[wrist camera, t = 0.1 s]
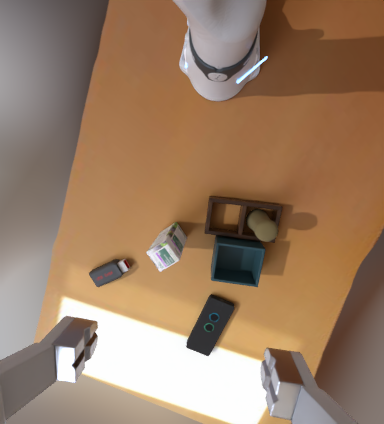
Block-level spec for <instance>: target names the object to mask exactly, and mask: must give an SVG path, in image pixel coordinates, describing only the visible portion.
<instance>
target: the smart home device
mask: <svg viewBox="0 0 384 424" xmlns="http://www.w3.org/2000/svg"><path fill="white" fill-rule="evenodd" d="M233 310H234V304H233V303H231V302H229V301H226V300H224V299H221V298H219V297H216V296H214V295H210V296H209V298H208V300H207V302H206V304H205V306H204V308H203V310H202V312H201V314H200V316H199V318H198V320H197V322H196V324H195V326H194V328H193V330H192V332H191V334H190V336H189V338H188V340H187V346H186V347H187V348H189V349H191V350H194V351H196V352H199V353H201V354H204V355H206V356H209V355H210V353H211V351H212V350H213V348H214V346H215V344H216V342H217V340H218V338H219V336H220V335H221V333H222V331H223V329H224V327H225V325H226V323H227V322H228V320H229V318H230V316H231V314H232V312H233Z"/></svg>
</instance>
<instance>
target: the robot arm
mask: <svg viewBox="0 0 384 424" xmlns="http://www.w3.org/2000/svg"><path fill="white" fill-rule="evenodd" d="M173 1H174V2H175V4H176V5H177V6H178V7H179V8H180V9H181V10H182V12H183V13H184V14H185V15H186V17H187V25H188V26H189V28H188V32H187V33H186V35H185V43H184V47H183V51H182V55H181V59H180V63H179V64H180V69H181V70H182V71H183V72H184V73H185V74H186V75H187V76H188V77H189V79H190V81H191V83H192V85H193V87H194V88H195V90H196V91H197V92H198V93H199V94H200V95H201V96H203V97H204V98H206V99H209V100H212V101H223V100H227V99H229V98H231V97H233V96H235V95H236V94H237V93H238V92H239V91H240V90H241V89H242V88H243V87H244V85H245V84H246V83H247V82H248V81H250V80H252V79H254V78H255V77H256V76H258V74H259V71H260V64H261V63H262V62H263V61H265V60H266V59H267V56H266V57H265V58H264V59H263V60H261V61H260V30H259V26H260V23H261V20H262V17H263V15H264V11H265V7H266V0H173ZM184 59H185V60H184ZM255 64H256V66H255ZM97 328H98V326H97V322H96V321H92V320H87V319H82V318H75V317H69V316H66V317H64V318H63V319H62V320H61V321H60V322H59V323H58V324H57V325H56V326H55V327H54V328H53V329H52V330H51V331H50V332H49V333H48V334H47V335H46V337H45V338H44V339H43V340H42V341H41V342H40V343H34V344H32V345H31V346H28V347H26V348H24V349H23V350H21V351H18V352H16V353H14V354H12V355H10V356H8V357H6V358H4V359H2V360H0V424H6V420H7V419H8V418H9V417H11V416H12V415H13V414H15V413H16V412H17V411H18V410H20V409H21V408H22V407H24V406H25V405H26V404H27V403H29V402H30V401H31V400H33V399H34V398H35V397H36V396H38V395H39V394H40V393H42V392H43V391H44V390H45V389H47V388H48V387H49V386H51V385H52V384H53V383H54V382H56V380H60V381H68V382H75V383H76V381H77V379H78V377H79V376H80V374H81V373H82V371H83V370H84V368H85V362H86V361H87V360H89V359H90V358H91V356H92V355H93V353H94V350H95V348H96V345H97V337H98V336H97V334H96V333H95V331H96V330H97ZM264 356H265V360H264V361H263V362H262V365H261V380H262V385H263V388H264V389H265V390H266V391H267V395H266V401H267V405H268V409H269V413H270V416H273V417H277V418H282V419H287V420H292V421H291V422H292V423H293V424H358V423H357V422H356V421H355V420H354V419H353V418H352V417H351V416H350V415H349V414H348V413H347V412H346V411H345V410H344V409H343V408H341V407H340V406H339V405H338V404H337V403H336V402H335V401H334V400H333V399H332V398H331V397H330V396H329V395H328V394H327V393H326V392H325V391H324V390H322V389H319V388H318V386H317V384H316V382H315V380H314V378H313V376H312V374H311V372H310V370H309V368H308V366H307V364H306V362H305V360H304V358H303V356H302V354H301V353H300V352H294V351H287V350H280V349H273V348H266V349H265V352H264Z"/></svg>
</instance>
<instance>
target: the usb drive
mask: <svg viewBox="0 0 384 424" xmlns="http://www.w3.org/2000/svg"><path fill="white" fill-rule="evenodd" d="M130 268H131V267H130V265H129V264H128V262H127V261H126V259H123V260H121V261H120V260H113V261H111V262H109V263H106V264H104V265H102V266H100V267H98V268H96V269H94V270H92V271H91V272H90V273H89V275H90V277H91V278H92V280H93V282H94V283H95V285H96V286H97V287H100V286H102V285H104V284H107V283H109V282H111V281H113V280H116V279H118V278H120V277H121V276H122V275H123V274H124V273H125V272H126V271H128V270H129V269H130Z"/></svg>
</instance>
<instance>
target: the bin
mask: <svg viewBox="0 0 384 424" xmlns="http://www.w3.org/2000/svg"><path fill="white" fill-rule="evenodd" d="M264 254H265V248H264V246H263V245H262V243H261V242H260V241H258V240H251V239H243V238H235V237H228V236H220V235H216V237H215V244H214V250H213V257H212V264H211V280H212V281H219V282H226V283H233V284H240V285H247V286H254V287H258V283H259V278H260V273H261V268H262V264H263V259H264Z"/></svg>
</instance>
